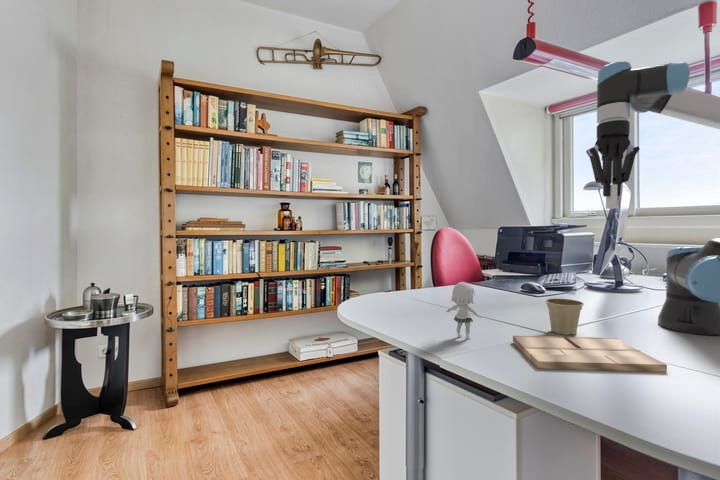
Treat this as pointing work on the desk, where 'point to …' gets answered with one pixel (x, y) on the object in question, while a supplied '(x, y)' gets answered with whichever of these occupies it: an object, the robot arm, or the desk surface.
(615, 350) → the floor strip
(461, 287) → the figurine
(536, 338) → the plank
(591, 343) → the plank
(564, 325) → the flower pot
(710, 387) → the desk surface
